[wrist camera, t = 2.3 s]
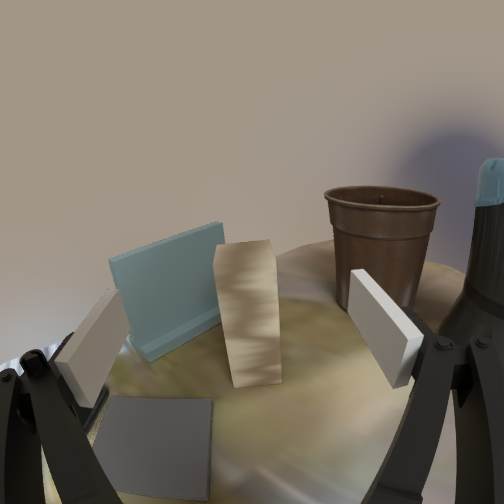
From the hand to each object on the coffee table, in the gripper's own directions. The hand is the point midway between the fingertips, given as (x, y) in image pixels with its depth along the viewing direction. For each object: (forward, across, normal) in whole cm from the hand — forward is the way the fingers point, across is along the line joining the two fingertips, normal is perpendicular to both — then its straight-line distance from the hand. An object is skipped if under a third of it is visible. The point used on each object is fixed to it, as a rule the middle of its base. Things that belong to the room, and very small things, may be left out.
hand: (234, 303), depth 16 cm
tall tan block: (+10, +1, -15) cm, 18 cm away
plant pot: (+21, +20, -14) cm, 33 cm away
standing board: (+20, -8, -15) cm, 26 cm away
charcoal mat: (0, -9, -15) cm, 18 cm away
